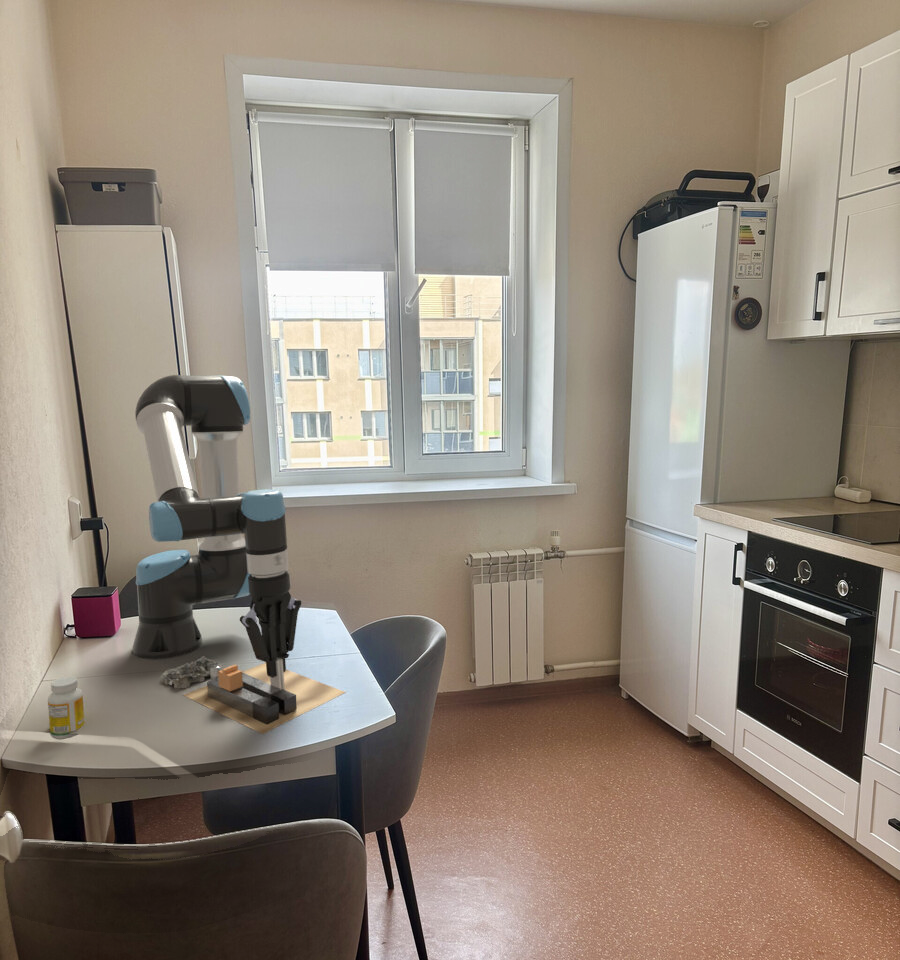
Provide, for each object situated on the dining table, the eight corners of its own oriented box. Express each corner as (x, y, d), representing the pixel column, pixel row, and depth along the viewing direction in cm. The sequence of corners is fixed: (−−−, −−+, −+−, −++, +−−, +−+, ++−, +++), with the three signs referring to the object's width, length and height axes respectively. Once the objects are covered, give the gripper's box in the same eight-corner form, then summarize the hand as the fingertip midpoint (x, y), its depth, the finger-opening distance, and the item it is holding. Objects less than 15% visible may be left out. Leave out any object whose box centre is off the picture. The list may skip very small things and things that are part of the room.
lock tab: (218, 686, 123) (217, 667, 123) (231, 681, 126) (230, 662, 125) (230, 691, 121) (229, 672, 121) (242, 686, 124) (241, 667, 123)
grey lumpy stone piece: (178, 698, 129) (177, 678, 129) (159, 688, 134) (157, 669, 133) (225, 679, 138) (224, 661, 137) (205, 670, 142) (204, 652, 142)
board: (183, 700, 127) (183, 695, 127) (266, 667, 143) (266, 662, 143) (262, 740, 112) (262, 733, 112) (346, 697, 128) (345, 692, 128)
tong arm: (226, 688, 130) (226, 674, 129) (238, 683, 132) (237, 669, 132) (284, 715, 119) (284, 700, 118) (296, 709, 121) (296, 694, 120)
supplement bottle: (57, 743, 112) (52, 690, 111) (45, 733, 115) (41, 682, 114) (90, 731, 116) (86, 680, 115) (78, 721, 119) (74, 672, 118)
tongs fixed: (198, 692, 128) (196, 671, 128) (219, 683, 132) (218, 663, 132) (266, 724, 115) (265, 701, 115) (288, 714, 119) (287, 691, 119)
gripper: (252, 584, 114) (263, 709, 117) (307, 566, 124) (316, 682, 127) (227, 578, 118) (238, 698, 122) (282, 561, 128) (291, 673, 132)
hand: (278, 690), depth 125 cm, fingers closed
